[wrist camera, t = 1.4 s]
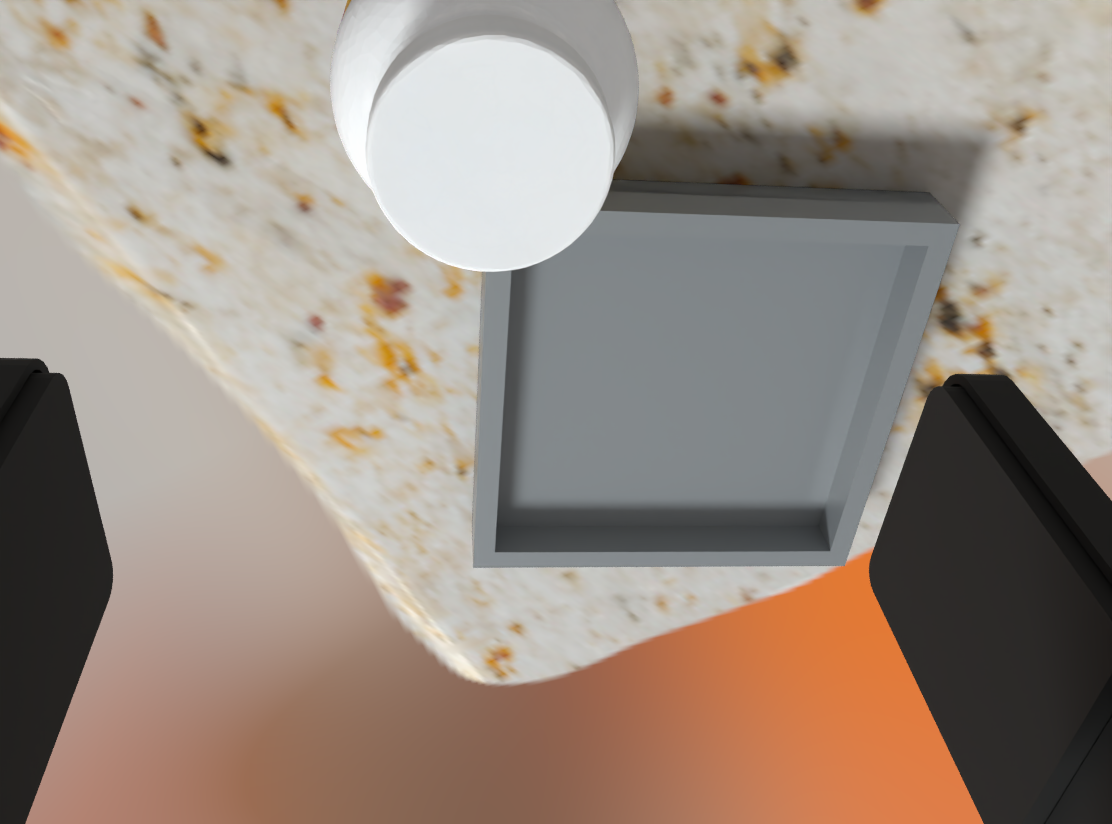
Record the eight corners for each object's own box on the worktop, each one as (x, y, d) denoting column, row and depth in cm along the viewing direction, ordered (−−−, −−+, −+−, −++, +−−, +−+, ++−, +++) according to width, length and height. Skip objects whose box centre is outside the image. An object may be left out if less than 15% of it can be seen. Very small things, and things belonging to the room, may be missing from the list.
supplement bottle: (324, -101, 27) (247, 26, 17) (559, -170, 27) (631, -84, 16) (404, 131, 31) (382, 350, 21) (611, 74, 31) (694, 269, 20)
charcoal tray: (929, 192, 34) (959, 223, 32) (825, 524, 42) (844, 565, 40) (485, 174, 32) (488, 206, 30) (471, 524, 41) (473, 567, 39)
